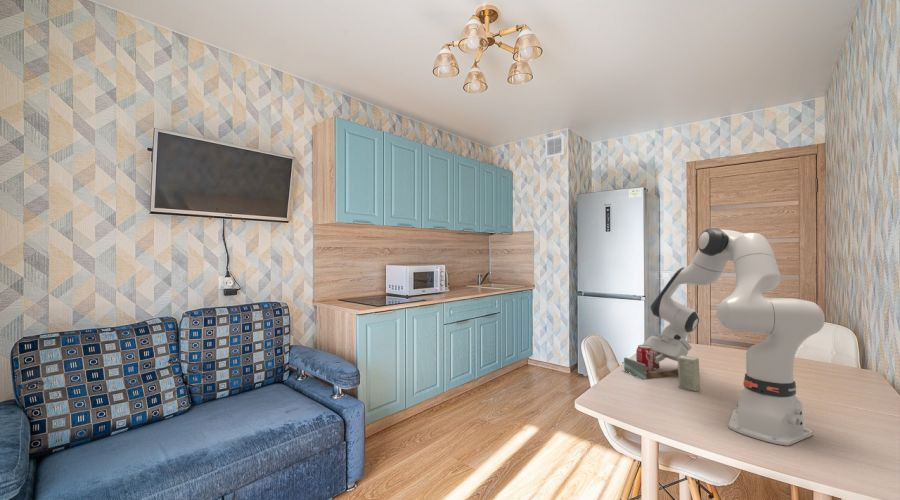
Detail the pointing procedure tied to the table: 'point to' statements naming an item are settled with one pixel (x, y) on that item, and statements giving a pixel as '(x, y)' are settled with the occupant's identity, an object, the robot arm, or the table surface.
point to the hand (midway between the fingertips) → (653, 362)
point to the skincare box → (689, 373)
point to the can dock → (641, 372)
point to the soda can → (646, 357)
